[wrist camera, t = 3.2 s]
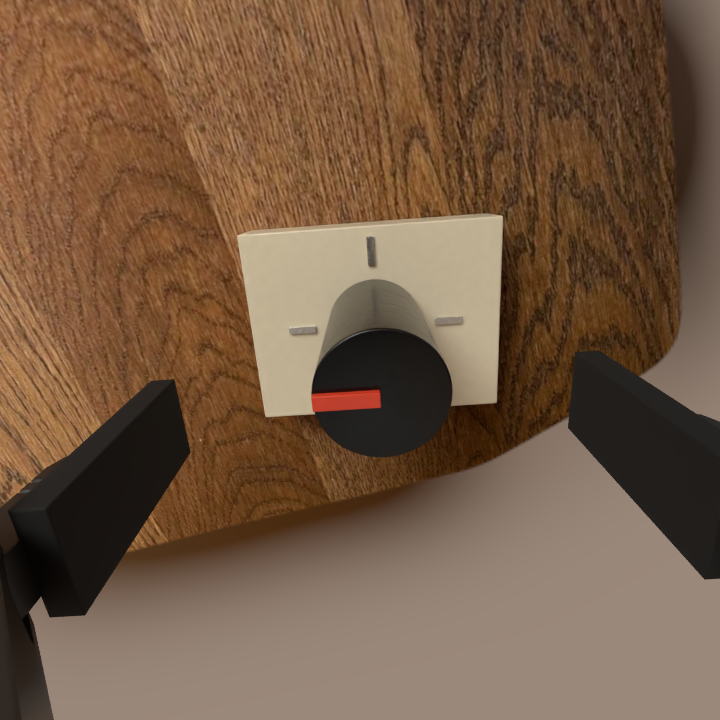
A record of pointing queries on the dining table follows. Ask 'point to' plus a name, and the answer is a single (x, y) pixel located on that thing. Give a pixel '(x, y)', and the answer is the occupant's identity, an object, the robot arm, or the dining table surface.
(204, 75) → the dining table surface
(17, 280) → the dining table surface
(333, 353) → the dial
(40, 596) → the robot arm
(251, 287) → the panel
